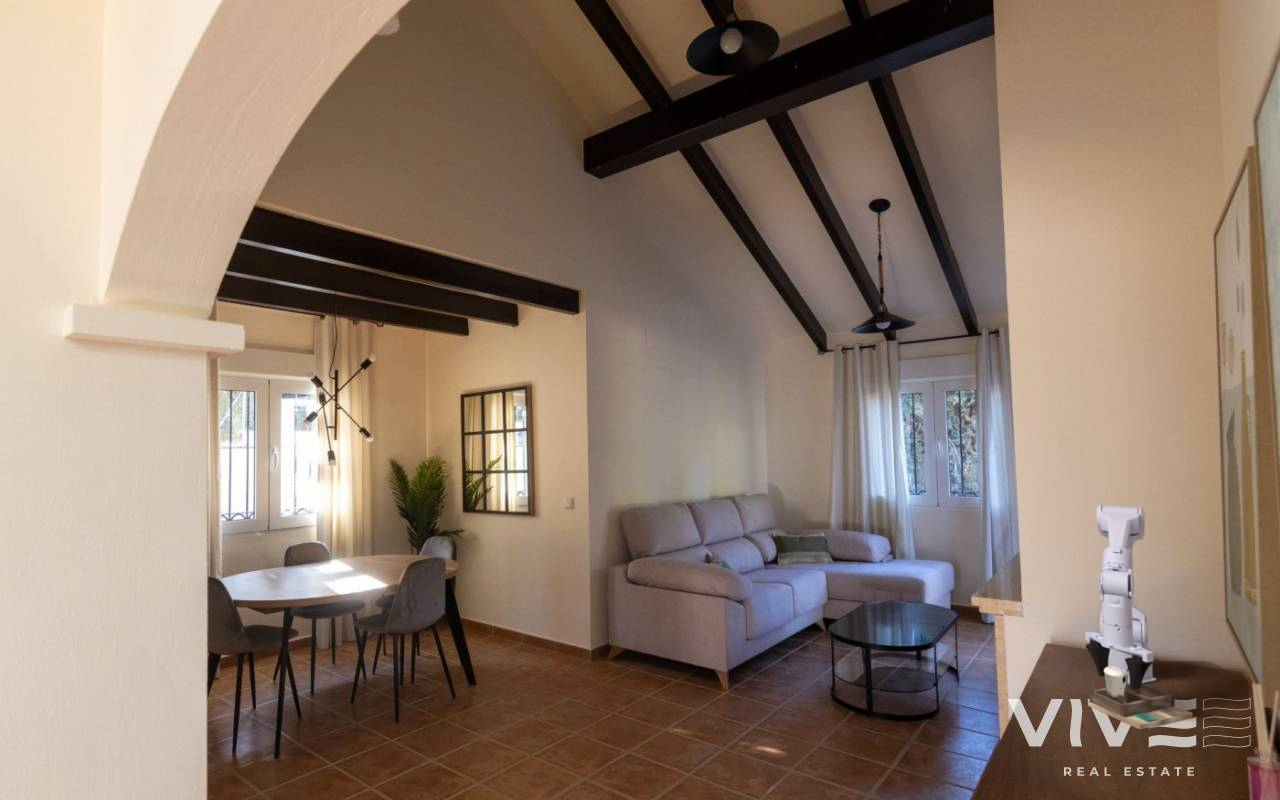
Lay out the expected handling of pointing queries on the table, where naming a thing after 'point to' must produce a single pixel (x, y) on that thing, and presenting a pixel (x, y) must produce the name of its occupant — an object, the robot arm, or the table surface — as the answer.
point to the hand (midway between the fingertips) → (1119, 681)
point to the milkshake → (1116, 683)
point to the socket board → (1140, 707)
